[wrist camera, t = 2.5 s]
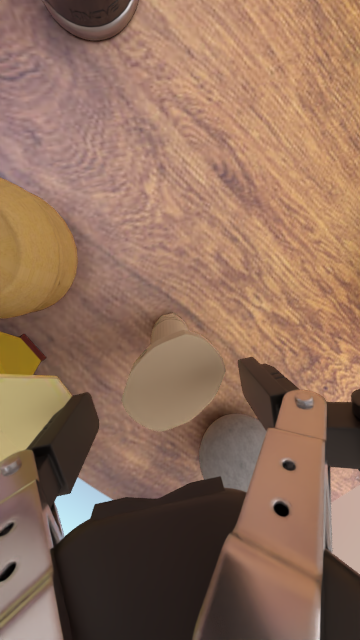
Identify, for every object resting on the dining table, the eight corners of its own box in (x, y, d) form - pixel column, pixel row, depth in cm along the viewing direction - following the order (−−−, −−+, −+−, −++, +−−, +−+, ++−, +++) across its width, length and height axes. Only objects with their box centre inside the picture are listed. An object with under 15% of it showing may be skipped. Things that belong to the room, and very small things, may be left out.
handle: (201, 318, 27) (241, 372, 12) (166, 354, 28) (166, 444, 13) (173, 292, 26) (181, 317, 12) (138, 330, 27) (104, 398, 12)
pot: (7, 175, 22) (-115, 102, 13) (107, 240, 24) (68, 219, 15) (-36, 272, 24) (-171, 272, 15) (61, 325, 26) (-1, 356, 17)
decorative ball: (258, 391, 30) (302, 448, 20) (266, 449, 32) (309, 527, 22) (188, 406, 30) (198, 472, 20) (201, 464, 32) (216, 548, 22)
